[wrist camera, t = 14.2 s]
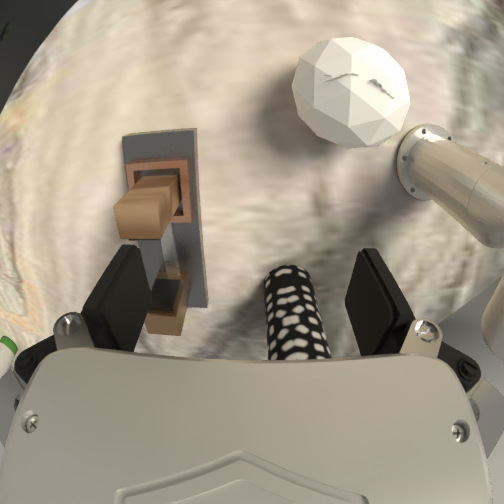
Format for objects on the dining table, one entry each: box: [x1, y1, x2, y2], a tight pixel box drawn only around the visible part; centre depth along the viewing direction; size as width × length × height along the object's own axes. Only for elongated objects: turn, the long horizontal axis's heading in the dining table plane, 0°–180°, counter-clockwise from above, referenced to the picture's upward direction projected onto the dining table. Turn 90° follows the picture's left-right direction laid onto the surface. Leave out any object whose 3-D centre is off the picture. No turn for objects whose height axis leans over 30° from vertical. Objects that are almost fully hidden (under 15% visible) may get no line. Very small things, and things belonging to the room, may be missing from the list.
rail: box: [122, 128, 208, 336], centre depth 37 cm, size 10×30×12 cm, turn 179°
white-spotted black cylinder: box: [264, 265, 331, 360], centre depth 40 cm, size 8×8×20 cm
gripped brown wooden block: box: [114, 175, 180, 240], centre depth 32 cm, size 5×5×10 cm
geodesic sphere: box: [292, 37, 410, 149], centre depth 25 cm, size 14×14×14 cm
